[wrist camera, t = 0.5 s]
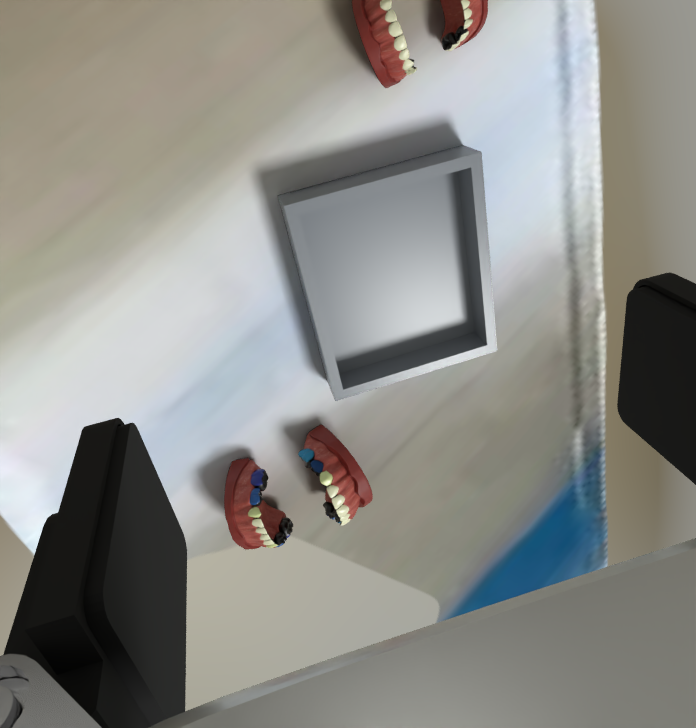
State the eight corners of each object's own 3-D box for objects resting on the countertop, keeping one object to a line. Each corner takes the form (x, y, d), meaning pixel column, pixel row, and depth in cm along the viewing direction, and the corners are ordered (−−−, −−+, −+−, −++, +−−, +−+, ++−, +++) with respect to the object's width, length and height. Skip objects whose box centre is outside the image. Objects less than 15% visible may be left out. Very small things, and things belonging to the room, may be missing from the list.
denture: (507, 32, 34) (387, 98, 35) (478, 36, 38) (370, 95, 38) (477, -75, 32) (347, -3, 32) (449, -60, 35) (333, 4, 35)
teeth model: (214, 520, 44) (360, 461, 45) (209, 466, 49) (341, 414, 50) (254, 584, 49) (386, 529, 49) (246, 528, 54) (366, 479, 55)
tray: (277, 195, 40) (283, 206, 37) (463, 145, 41) (481, 151, 38) (327, 381, 48) (335, 401, 45) (481, 334, 49) (497, 350, 46)
